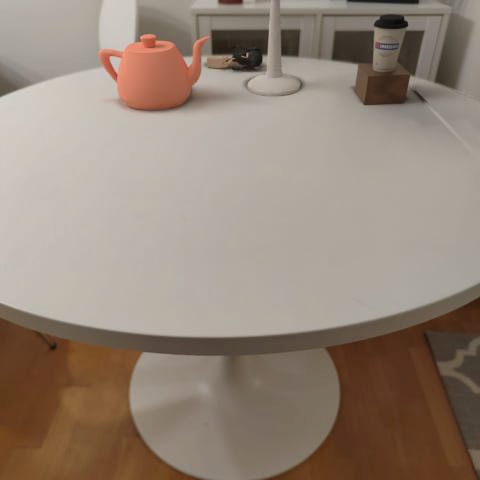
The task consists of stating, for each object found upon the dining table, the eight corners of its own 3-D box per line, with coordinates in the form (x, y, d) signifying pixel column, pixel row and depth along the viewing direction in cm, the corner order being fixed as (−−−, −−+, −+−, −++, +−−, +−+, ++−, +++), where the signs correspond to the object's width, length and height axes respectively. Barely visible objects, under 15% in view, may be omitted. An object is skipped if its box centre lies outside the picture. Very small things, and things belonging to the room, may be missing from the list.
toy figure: (206, 74, 120) (263, 70, 119) (203, 48, 117) (262, 43, 116) (209, 70, 126) (263, 65, 125) (206, 44, 123) (261, 40, 122)
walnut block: (392, 89, 107) (397, 61, 103) (404, 103, 100) (410, 74, 96) (354, 91, 107) (358, 63, 103) (364, 105, 100) (368, 76, 96)
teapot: (216, 85, 113) (212, 24, 104) (212, 111, 100) (207, 44, 91) (116, 88, 114) (103, 27, 105) (99, 113, 101) (84, 47, 92)
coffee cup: (372, 62, 103) (380, 12, 97) (403, 66, 101) (413, 14, 94) (363, 71, 99) (370, 19, 92) (395, 75, 96) (405, 21, 89)
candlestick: (258, 76, 117) (257, -72, 97) (306, 80, 113) (315, -73, 94) (239, 93, 108) (234, -66, 89) (291, 98, 105) (298, -67, 85)
